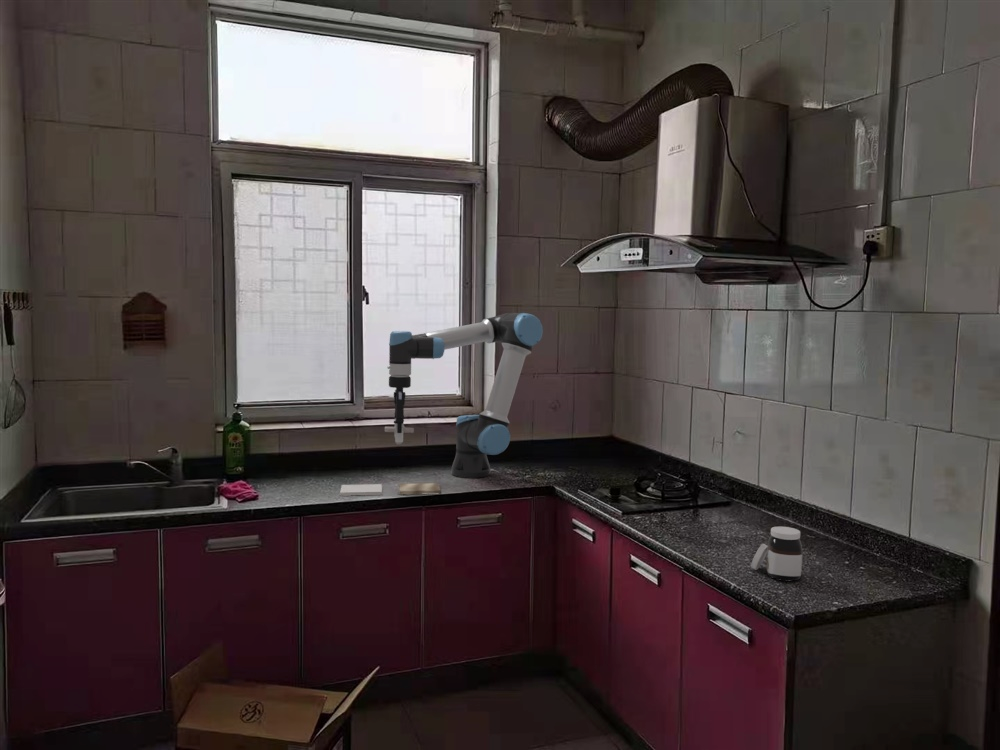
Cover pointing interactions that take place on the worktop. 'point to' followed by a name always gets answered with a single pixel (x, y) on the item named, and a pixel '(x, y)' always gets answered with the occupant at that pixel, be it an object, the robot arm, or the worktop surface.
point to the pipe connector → (405, 430)
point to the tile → (361, 489)
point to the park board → (419, 488)
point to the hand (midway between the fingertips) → (398, 439)
